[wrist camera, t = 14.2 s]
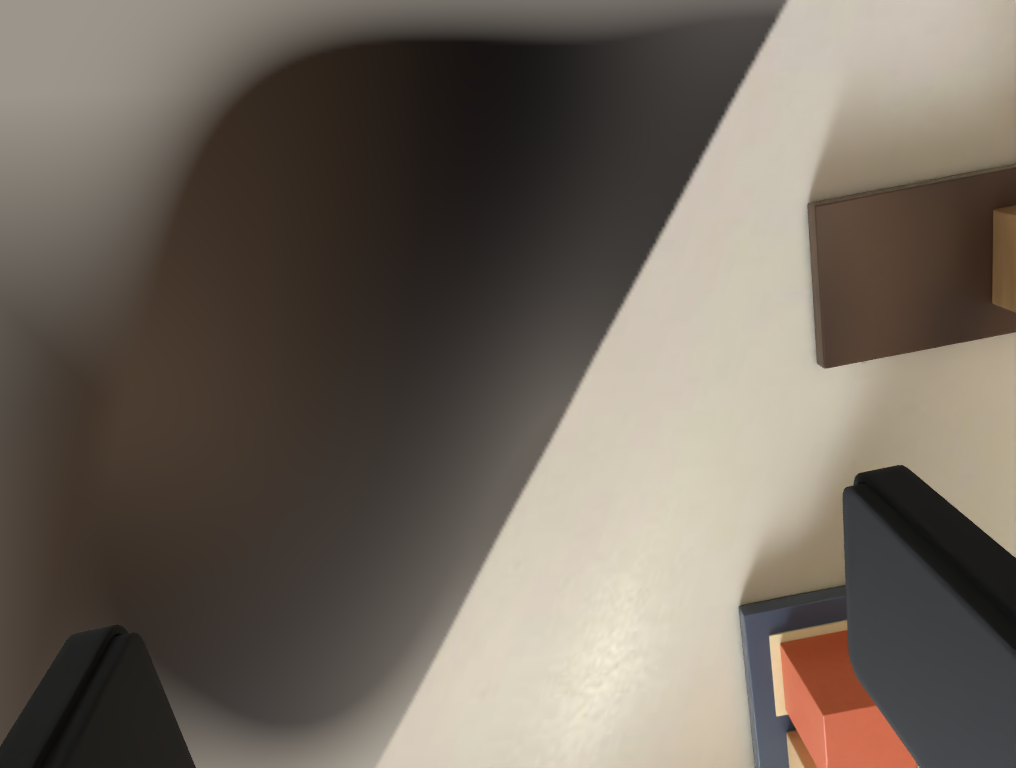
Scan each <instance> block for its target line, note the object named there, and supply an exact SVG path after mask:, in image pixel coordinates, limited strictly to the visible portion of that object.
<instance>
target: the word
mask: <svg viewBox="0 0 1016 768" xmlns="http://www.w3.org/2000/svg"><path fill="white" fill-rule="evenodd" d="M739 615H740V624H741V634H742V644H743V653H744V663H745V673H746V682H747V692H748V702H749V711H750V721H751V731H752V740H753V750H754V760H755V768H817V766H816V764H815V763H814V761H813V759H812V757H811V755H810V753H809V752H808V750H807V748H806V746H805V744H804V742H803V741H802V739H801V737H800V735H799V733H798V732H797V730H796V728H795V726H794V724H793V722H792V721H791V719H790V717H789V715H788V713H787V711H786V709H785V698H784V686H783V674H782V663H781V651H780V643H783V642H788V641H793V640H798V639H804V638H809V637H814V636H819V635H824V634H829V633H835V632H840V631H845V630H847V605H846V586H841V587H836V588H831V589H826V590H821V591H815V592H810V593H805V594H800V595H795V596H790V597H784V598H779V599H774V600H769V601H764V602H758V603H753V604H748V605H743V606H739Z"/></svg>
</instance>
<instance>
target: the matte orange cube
mask: <svg viewBox="0 0 1016 768" xmlns="http://www.w3.org/2000/svg"><path fill="white" fill-rule="evenodd" d="M780 651H781V663H782V674H783V686H784V698H785V709H786V711H787V713H788V715H789V717H790V719H791V721H792V722H793V724H794V726H795V728H796V730H797V732H798V733H799V735H800V737H801V739H802V741H803V742H804V744H805V746H806V748H807V750H808V752H809V753H810V755H811V757H812V759H813V761H814V763H815V764H816V766H817V768H917V763H916V761H915V760H914V758H913V757H912V756H911V754H910V753H909V751H908V750H907V748H906V747H905V746H904V744H903V743H902V741H901V740H900V739H899V737H898V736H897V734H896V733H895V731H894V730H893V729H892V727H891V726H890V724H889V723H888V721H887V720H886V719H885V717H884V716H883V714H882V713H881V712H880V710H879V709H878V707H877V706H876V704H875V703H874V702H873V700H872V699H871V697H870V696H869V694H868V693H867V692H866V690H865V689H864V687H863V686H862V685H861V683H860V682H859V680H858V678H857V677H856V675H855V673H854V670H853V668H852V665H851V662H850V658H849V652H848V632H847V630H845V631H840V632H835V633H829V634H824V635H819V636H814V637H809V638H804V639H798V640H793V641H788V642H783V643H780Z"/></svg>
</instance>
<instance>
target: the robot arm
mask: <svg viewBox="0 0 1016 768" xmlns="http://www.w3.org/2000/svg"><path fill="white" fill-rule="evenodd" d="M843 524H844V551H845V578H846V605H847V632H848V652H849V658H850V662H851V665H852V668H853V670H854V673H855V675H856V677H857V678H858V680H859V682H860V683H861V685H862V686H863V687H864V689H865V690H866V692H867V693H868V694H869V696H870V697H871V699H872V700H873V702H874V703H875V704H876V706H877V707H878V709H879V710H880V712H881V713H882V714H883V716H884V717H885V719H886V720H887V721H888V723H889V724H890V726H891V727H892V729H893V730H894V731H895V733H896V734H897V736H898V737H899V739H900V740H901V741H902V743H903V744H904V746H905V747H906V748H907V750H908V751H909V753H910V754H911V756H912V757H913V758H914V760H915V761H916V763H917V764H918V766H919V767H920V768H1016V558H1015V557H1014V556H1012V555H1011V554H1010V553H1009V552H1008V551H1006V550H1005V549H1004V548H1003V547H1002V546H1000V545H999V544H998V543H997V542H996V541H994V540H993V539H992V538H991V537H990V536H988V535H987V534H986V533H985V532H984V531H982V530H981V529H980V528H979V527H978V526H976V525H975V524H974V523H973V522H972V521H970V520H969V519H968V518H967V517H966V516H964V515H963V514H962V513H961V512H960V511H958V510H957V509H956V508H955V507H954V506H953V505H951V504H950V503H949V502H948V501H947V500H945V499H944V498H943V497H942V496H941V495H939V494H938V493H937V492H936V491H935V490H933V489H932V488H931V487H930V486H929V485H927V484H926V483H925V482H924V481H923V480H921V479H920V478H919V477H918V476H917V475H915V474H914V473H913V472H912V471H911V470H909V469H908V468H907V467H905V466H903V465H897V466H892V467H887V468H882V469H877V470H872V471H867V472H863V473H859V474H858V475H856V477H855V480H854V486H849V487H846V488H845V489H844V492H843ZM0 768H196V767H195V765H194V762H193V760H192V757H191V755H190V753H189V750H188V748H187V745H186V743H185V740H184V738H183V736H182V733H181V731H180V729H179V726H178V723H177V721H176V719H175V716H174V714H173V711H172V709H171V707H170V704H169V702H168V699H167V697H166V694H165V692H164V689H163V687H162V685H161V682H160V680H159V677H158V675H157V672H156V670H155V668H154V665H153V663H152V660H151V658H150V655H149V653H148V651H147V648H146V646H145V643H144V641H143V639H142V637H141V636H140V635H139V634H138V633H131V634H129V633H128V632H127V630H126V629H125V628H124V627H123V626H121V625H113V626H108V627H103V628H98V629H94V630H88V631H84V632H79V633H75V634H72V635H71V636H70V637H69V638H68V639H67V640H66V642H65V644H64V645H63V647H62V648H61V650H60V652H59V654H58V655H57V656H56V658H55V660H54V661H53V663H52V665H51V666H50V668H49V669H48V671H47V673H46V674H45V676H44V677H43V679H42V681H41V682H40V684H39V685H38V687H37V688H36V690H35V692H34V693H33V695H32V696H31V698H30V700H29V701H28V703H27V705H26V706H25V708H24V709H23V711H22V713H21V714H20V716H19V717H18V719H17V721H16V722H15V724H14V725H13V727H12V728H11V730H10V732H9V733H8V735H7V737H6V738H5V740H4V741H3V743H2V744H1V746H0Z"/></svg>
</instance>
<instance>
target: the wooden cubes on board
mask: <svg viewBox="0 0 1016 768" xmlns="http://www.w3.org/2000/svg"><path fill="white" fill-rule="evenodd" d="M808 219H809V236H810V252H811V269H812V285H813V302H814V318H815V335H816V352H817V363H818V364H819V365H820V366H821V367H823V368H824V369H826V368H832V367H837V366H842V365H847V364H852V363H858V362H863V361H868V360H873V359H878V358H884V357H889V356H894V355H899V354H904V353H910V352H915V351H920V350H925V349H930V348H936V347H941V346H946V345H951V344H956V343H962V342H967V341H972V340H977V339H982V338H988V337H993V336H998V335H1003V334H1008V333H1014V332H1016V164H1012V165H1007V166H1002V167H997V168H991V169H986V170H981V171H976V172H970V173H965V174H960V175H955V176H950V177H944V178H939V179H934V180H929V181H923V182H918V183H913V184H908V185H903V186H897V187H892V188H887V189H882V190H876V191H871V192H866V193H861V194H856V195H850V196H845V197H840V198H835V199H829V200H824V201H819V202H814V203H809V204H808Z"/></svg>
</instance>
